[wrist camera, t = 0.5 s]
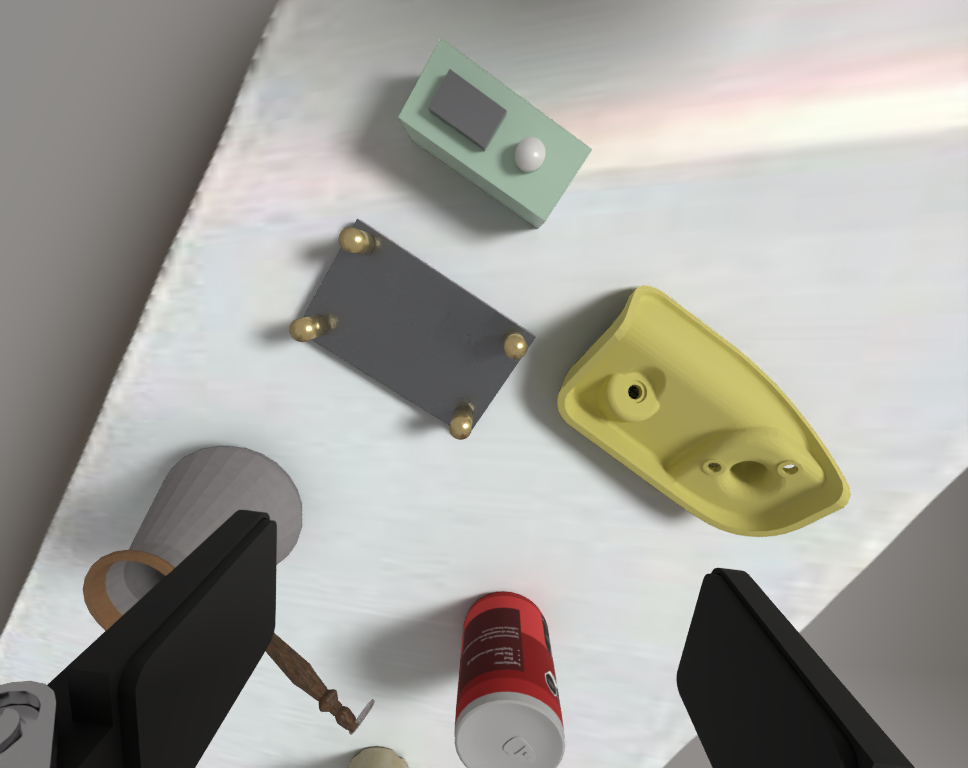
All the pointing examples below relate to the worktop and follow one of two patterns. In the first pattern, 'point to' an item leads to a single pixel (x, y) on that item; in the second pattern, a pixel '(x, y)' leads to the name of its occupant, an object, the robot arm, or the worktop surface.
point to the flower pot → (377, 759)
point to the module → (491, 135)
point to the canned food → (507, 687)
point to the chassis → (412, 329)
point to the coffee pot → (190, 521)
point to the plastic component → (700, 422)
